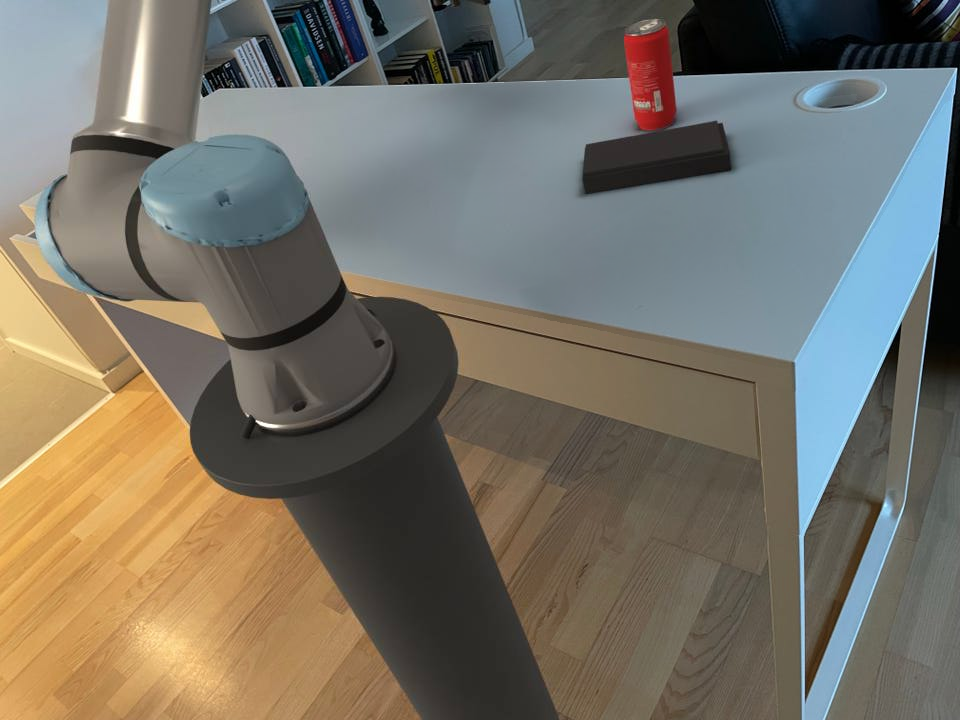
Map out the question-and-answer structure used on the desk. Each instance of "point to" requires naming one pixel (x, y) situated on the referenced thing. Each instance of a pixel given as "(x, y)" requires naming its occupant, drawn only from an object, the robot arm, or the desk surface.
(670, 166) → the black flat box
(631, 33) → the beverage can
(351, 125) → the desk surface
